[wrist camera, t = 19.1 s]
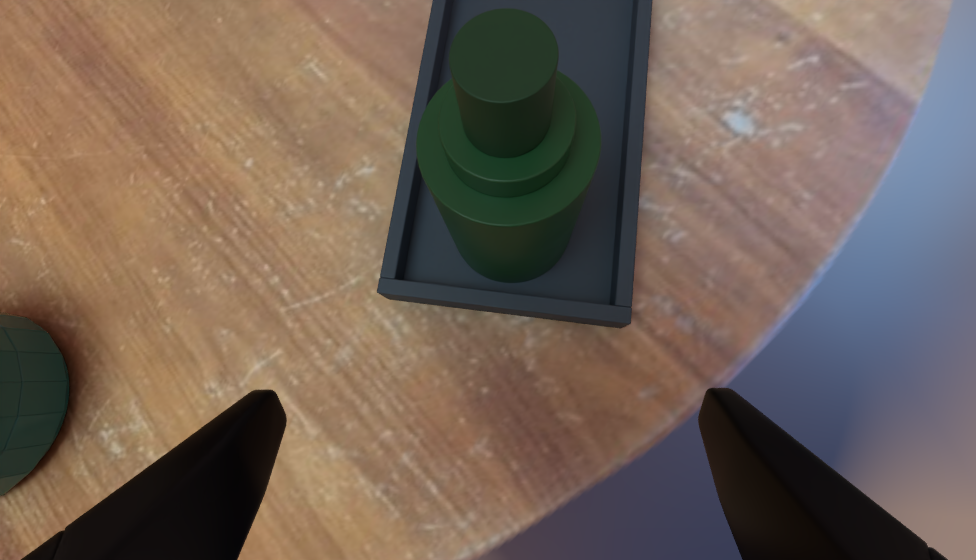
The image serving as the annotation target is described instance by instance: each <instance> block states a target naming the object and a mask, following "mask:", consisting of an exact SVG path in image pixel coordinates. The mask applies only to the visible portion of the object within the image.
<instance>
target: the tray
mask: <svg viewBox="0 0 976 560" xmlns="http://www.w3.org/2000/svg"><path fill="white" fill-rule="evenodd" d="M501 8H512V9H519V10H523V11H526V12H529V13H531V14H533V15H535V16H537V17H538V18H540V19H541V20H542V21H544V22H545V23H546V24H547V25H548V27H549V28H550V29H551V31H552V32H553V34H554V36H555V38H556V41H557V44H558V50H559V59H558V67H557V70H558V71H560V72H562V73H563V74H565V75H566V76H568V77H569V78H570V79H572V80H573V81H574V82H575V83H576V84H577V85H578V86H579V87H580V88H581V89H582V90H583V91H584V92H585V94H586V95H587V97H588V98H589V100H590V101H591V103H592V105H593V107H594V109H595V111H596V114H597V117H598V120H599V124H600V130H601V152H600V158H599V161H598V165H597V168H596V171H595V173H594V176H593V179H592V181H591V184H590V187H589V189H588V192H587V195H586V197H585V200H584V203H583V205H582V208H581V211H580V213H579V216H578V219H577V221H576V224H575V227H574V229H573V232H572V235H571V237H570V240H569V243H568V245H567V247H566V250H565V252H564V254H563V255H562V257H561V258H560V260H559V261H558V262H557V263H556V264H555V265H554V266H553V267H552V268H551V269H550V270H549V271H547V272H546V273H544V274H543V275H541V276H539V277H537V278H535V279H532V280H529V281H525V282H520V283H503V282H497V281H494V280H491V279H488V278H486V277H484V276H482V275H480V274H479V273H477V272H476V271H474V270H473V269H472V268H471V267H470V266H469V265H468V264H467V263H466V262H465V260H464V259H463V258H462V256H461V254H460V253H459V251H458V249H457V247H456V245H455V243H454V240H453V238H452V236H451V234H450V232H449V230H448V228H447V226H446V224H445V222H444V220H443V218H442V216H441V214H440V212H439V210H438V208H437V205H436V203H435V201H434V199H433V197H432V195H431V193H430V191H429V189H428V187H427V185H426V183H425V181H424V179H423V177H422V174H421V171H420V168H419V165H418V160H417V153H416V139H417V132H418V127H419V123H420V120H421V118H422V115H423V112H424V111H425V109H426V107H427V105H428V103H429V102H430V100H431V99H432V97H433V96H434V95H435V93H436V92H437V91H438V90H439V89H440V88H441V87H442V86H443V85H444V84H445V83H446V82H448V81H449V80H450V79H451V78H452V75H451V71H450V66H449V52H450V47H451V44H452V42H453V39H454V37H455V36H456V34H457V33H458V31H459V30H460V29H461V28H462V26H463V25H464V24H466V23H467V22H468V21H469V20H471V19H472V18H474V17H475V16H477V15H479V14H481V13H484V12H486V11H490V10H494V9H501ZM651 12H652V0H433V3H432V8H431V13H430V19H429V24H428V29H427V34H426V39H425V45H424V50H423V55H422V60H421V66H420V71H419V76H418V81H417V86H416V92H415V97H414V102H413V107H412V113H411V118H410V123H409V128H408V133H407V139H406V144H405V149H404V154H403V160H402V165H401V170H400V175H399V180H398V186H397V191H396V196H395V201H394V207H393V212H392V217H391V222H390V227H389V233H388V238H387V243H386V248H385V254H384V259H383V264H382V269H381V274H380V277H381V278H380V279H379V284H378V289H377V293H379V294H381V295H382V296H384V297H386V298H388V299H391V300H399V301H407V302H415V303H423V304H431V305H439V306H447V307H455V308H463V309H471V310H479V311H487V312H495V313H503V314H511V315H519V316H527V317H535V318H543V319H551V320H559V321H567V322H575V323H583V324H591V325H599V326H607V327H615V328H622V327H625V326H627V325H629V324H631V312H632V308H631V307H632V295H633V280H634V265H635V250H636V235H637V220H638V205H639V190H640V176H641V161H642V146H643V131H644V116H645V101H646V86H647V71H648V56H649V41H650V27H651Z"/></svg>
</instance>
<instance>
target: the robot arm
mask: <svg viewBox="0 0 976 560" xmlns="http://www.w3.org/2000/svg"><path fill="white" fill-rule="evenodd" d="M286 422H287V418H286V414H285V411H284V409H283V407H282V405H281V403H280V400H279V398H278V396H277V394H276V392H274V391H273V390H254V391H252V392H250V393H248V394H247V395H246V396H244V397H243V398H242V399H240V400H239V401H238V402H236V403H235V404H233V405H232V406H231V407H229V408H228V409H227V410H225V411H224V412H222V413H221V414H220V415H218V416H217V417H216V418H214V419H213V420H212V421H210V422H209V423H207V424H206V425H205V426H203V427H202V428H201V429H199V430H198V431H197V432H195V433H194V434H192V435H191V436H190V437H188V438H187V439H186V440H184V441H183V442H182V443H180V444H179V445H177V446H176V447H175V448H173V449H172V450H171V451H169V452H168V453H167V454H165V455H164V456H162V457H161V458H160V459H158V460H157V461H156V462H154V463H153V464H151V465H150V466H149V467H147V468H146V469H145V470H143V471H142V472H141V473H139V474H138V475H136V476H135V477H134V478H132V479H131V480H130V481H128V482H127V483H126V484H124V485H123V486H121V487H120V488H119V489H117V490H116V491H115V492H113V493H112V494H110V495H109V496H108V497H106V498H105V499H104V500H102V501H101V502H100V503H98V504H97V505H95V506H94V507H93V508H91V509H90V510H89V511H87V512H86V513H84V514H83V515H82V516H80V517H79V518H78V519H76V520H75V521H74V522H72V523H71V524H69V525H68V526H67V527H66V528H65V531H64V530H63V531H60V532H58V533H57V534H56V535H54V536H53V537H52V538H50V539H49V540H47V541H46V542H45V543H43V544H42V545H41V546H39V547H38V548H37V549H35V550H34V551H32V552H31V553H30V554H28V555H27V556H25V557H24V558H23V559H21V560H237V559H238V557H239V554H240V552H241V549H242V547H243V545H244V542H245V540H246V538H247V535H248V533H249V531H250V528H251V526H252V523H253V521H254V519H255V516H256V514H257V512H258V509H259V507H260V504H261V502H262V499H263V497H264V494H265V491H266V488H267V485H268V482H269V479H270V476H271V473H272V469H273V466H274V463H275V460H276V457H277V453H278V450H279V447H280V444H281V440H282V437H283V434H284V431H285V427H286ZM698 422H699V428H700V432H701V435H702V439H703V443H704V446H705V450H706V453H707V457H708V461H709V464H710V468H711V471H712V475H713V479H714V483H715V486H716V490H717V493H718V496H719V500H720V503H721V505H722V508H723V511H724V514H725V516H726V519H727V521H728V524H729V526H730V529H731V531H732V534H733V536H734V539H735V542H736V544H737V546H738V549H739V552H740V554H741V557H742V559H743V560H948V559H946V558H945V557H944V556H943V555H941V554H940V553H939V552H937V551H936V550H935V549H933V548H931V547H928V546H927V543H926V542H925V541H923V540H922V539H921V538H920V537H918V536H917V535H916V534H914V533H913V532H912V531H911V530H909V529H908V528H907V527H906V526H904V525H903V524H902V523H901V522H899V521H898V520H897V519H895V518H894V517H893V516H892V515H890V514H889V513H888V512H887V511H885V510H884V509H883V508H882V507H880V506H879V505H878V504H876V503H875V502H874V501H873V500H871V499H870V498H869V497H867V496H866V495H865V494H864V493H862V492H861V491H860V490H859V489H858V488H856V487H855V486H853V485H852V484H851V483H850V482H849V481H847V480H846V479H845V478H843V477H842V476H841V475H840V474H838V473H837V472H836V471H835V470H833V469H832V468H831V467H830V466H828V465H827V464H826V463H824V462H823V461H822V460H821V459H820V458H818V457H817V456H816V455H814V454H813V453H812V452H811V451H809V450H808V449H807V448H806V447H804V446H803V445H802V444H800V443H799V442H798V441H797V440H795V439H794V438H793V437H792V436H790V435H789V434H788V433H787V432H785V431H784V430H783V429H781V428H780V427H779V426H778V425H776V424H775V423H774V422H773V421H771V420H770V419H769V418H768V417H766V416H765V415H764V414H763V413H761V412H760V411H759V410H758V409H756V408H755V407H754V406H752V405H751V404H750V403H749V402H747V401H746V400H745V399H744V398H742V397H741V396H740V395H738V394H737V393H736V392H735V391H733V390H731V389H729V388H709V389H708V390H707V391H706V393H705V396H704V399H703V403H702V406H701V409H700V412H699V417H698Z"/></svg>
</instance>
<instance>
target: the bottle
mask: <svg viewBox="0 0 976 560" xmlns="http://www.w3.org/2000/svg"><path fill="white" fill-rule="evenodd" d="M558 59H559V50H558V44H557V41H556V38H555V36H554V34H553V32H552V31H551V29H550V28H549V27H548V25H547V24H546V23H545V22H544V21H542V20H541V19H540V18H538V17H537V16H535V15H533V14H531V13H529V12H526V11H523V10H519V9H512V8H501V9H494V10H490V11H486V12H484V13H481V14H479V15H477V16H475V17H474V18H472V19H471V20H469V21H468V22H467V23H466V24H464V25H463V26H462V28H461V29H460V30H459V31H458V33H457V34H456V36H455V37H454V39H453V42H452V44H451V47H450V52H449V66H450V71H451V75H452V78H451V79H450V80H449V81H448V82H446V83H445V84H444V85H443V86H442V87H441V88H440V89H439V90H438V91H437V92H436V93H435V95H434V96H433V97H432V99H431V100H430V102H429V103H428V105H427V107H426V109H425V111H424V112H423V115H422V118H421V120H420V123H419V127H418V132H417V139H416V153H417V160H418V165H419V168H420V171H421V174H422V177H423V179H424V181H425V183H426V185H427V187H428V189H429V191H430V193H431V195H432V197H433V199H434V201H435V203H436V205H437V208H438V210H439V212H440V214H441V216H442V218H443V220H444V222H445V224H446V226H447V228H448V230H449V232H450V234H451V236H452V238H453V240H454V243H455V245H456V247H457V249H458V251H459V253H460V254H461V256H462V258H463V259H464V260H465V262H466V263H467V264H468V265H469V266H470V267H471V268H472V269H473V270H474V271H476V272H477V273H479V274H480V275H482V276H484V277H486V278H488V279H491V280H494V281H497V282H503V283H520V282H525V281H529V280H532V279H535V278H537V277H539V276H541V275H543V274H544V273H546V272H547V271H549V270H550V269H551V268H552V267H553V266H554V265H555V264H556V263H557V262H558V261H559V260H560V258H561V257H562V255H563V254H564V252H565V250H566V247H567V245H568V243H569V240H570V237H571V235H572V232H573V229H574V227H575V224H576V221H577V219H578V216H579V213H580V211H581V208H582V205H583V203H584V200H585V197H586V195H587V192H588V189H589V187H590V184H591V181H592V179H593V176H594V173H595V171H596V168H597V165H598V161H599V158H600V152H601V130H600V124H599V120H598V117H597V114H596V111H595V109H594V107H593V105H592V103H591V101H590V100H589V98H588V97H587V95H586V94H585V92H584V91H583V90H582V89H581V88H580V87H579V86H578V85H577V84H576V83H575V82H574V81H573V80H572V79H570V78H569V77H568V76H566V75H565V74H563V73H562V72H560V71H558V70H557V67H558Z"/></svg>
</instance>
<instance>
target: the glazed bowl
mask: <svg viewBox="0 0 976 560" xmlns="http://www.w3.org/2000/svg"><path fill="white" fill-rule="evenodd" d="M69 389H70V386H69V375H68V369H67V365H66V363H65V360H64V357H63V355H62V353H61V351H60V349H59V348H58V347H57V345H56V344H55V342H54V341H53V339H52V337H51V336H50V334H49V333H47V331H46V330H44V329H43V328H41V327H40V326H38V325H37V324H36V323H34V322H33V321H31V320H30V319H28V318H26V317H22V316H18V315H13V314H9V313H4V312H0V496H2V495H4V494H5V493H7V492H8V491H9V490H10V489H12V488H13V487H14V486H15V485H16V484H17V483H19V482H20V481H21V480H22V479H23V478H25V477H26V476H27V475H28V474H29V473H30V472H31V471H32V470H33V469H34V468H35V466H36V465H37V464H38V462H39V461H40V460H41V459H42V458H43V457H44V455H45V454H46V453H47V451H48V450H49V448H50V447H51V446H52V444H53V442H54V440H55V439H56V437H57V435H58V433H59V431H60V428H61V426H62V424H63V421H64V418H65V415H66V411H67V406H68V401H69Z"/></svg>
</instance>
